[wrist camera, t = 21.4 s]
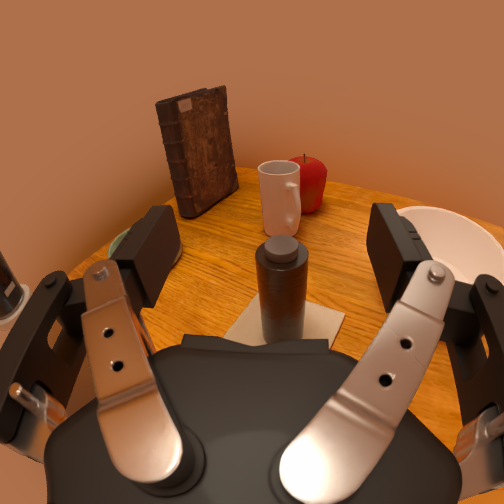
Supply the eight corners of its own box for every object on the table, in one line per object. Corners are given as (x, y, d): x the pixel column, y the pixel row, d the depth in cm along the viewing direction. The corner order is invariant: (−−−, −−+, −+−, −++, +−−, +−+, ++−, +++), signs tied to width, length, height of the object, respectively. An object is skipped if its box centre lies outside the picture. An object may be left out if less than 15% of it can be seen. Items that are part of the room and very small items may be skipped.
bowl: (393, 232, 49) (401, 193, 44) (491, 272, 37) (507, 234, 32) (348, 305, 36) (357, 258, 31) (481, 365, 25) (513, 324, 20)
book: (191, 221, 57) (167, 98, 42) (169, 214, 61) (145, 101, 46) (242, 188, 67) (230, 84, 52) (219, 184, 71) (206, 86, 56)
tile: (306, 395, 27) (307, 392, 27) (213, 353, 32) (212, 349, 32) (344, 317, 35) (345, 313, 34) (263, 289, 40) (263, 285, 40)
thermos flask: (273, 355, 31) (269, 268, 23) (256, 326, 34) (245, 238, 26) (310, 339, 32) (319, 250, 24) (290, 312, 36) (291, 224, 28)
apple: (333, 212, 56) (336, 156, 48) (298, 223, 53) (297, 163, 46) (310, 195, 62) (310, 144, 55) (276, 204, 60) (273, 150, 53)
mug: (257, 224, 54) (251, 164, 47) (289, 216, 56) (287, 157, 48) (280, 254, 46) (278, 186, 39) (316, 243, 48) (318, 177, 41)
